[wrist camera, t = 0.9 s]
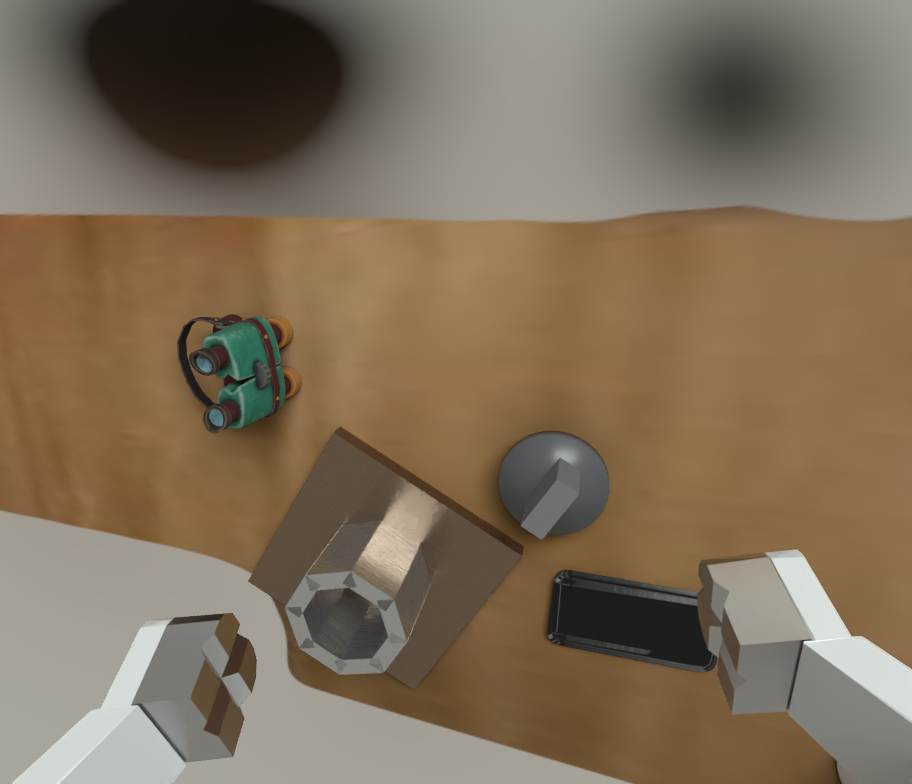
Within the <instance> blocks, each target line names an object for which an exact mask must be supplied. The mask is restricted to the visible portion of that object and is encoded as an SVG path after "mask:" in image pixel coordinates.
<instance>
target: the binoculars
mask: <svg viewBox="0 0 912 784" xmlns="http://www.w3.org/2000/svg"><path fill="white" fill-rule="evenodd" d="M196 321H204V322H208V323H212V324H214V327H213V334H211V335H209V336H208V337H206V338H205V339H204V341H203V348H202V349H200V350H197V351H194V352H192V353H191V354H190V356H189V360H190V363H191V365H192V367H193V368H194V369H195V370H196V371H197V372H199V373H200V374H202V375H206V376H210V375H213V374H215V375H216V376H217V377H218V378H220V379H224V386H225V387H223V388H222V389H221V390H220V391H219V393H218V396H217V404H214V403H213V402H212V401H211V400H210V399H209V398H208V397H207V396H206V395H205V394H204V393H203V391H202V390H201V388H200V386H199V385H198V383H197V381H196V380H195V377H194V375H193V372H192V370H191V367H190V364H189V361H188V357H187V347H186V339H187V336H188V334H189V331H190V329H191V326H192V325H193V324H194V323H195V322H196ZM292 334H293V332H292V328H291V326H290V324H289V323H288V322H287V321H286V320H285V319H283V318H280V317H272V318H269V319H267V320H266V319H264V318H262V317H252V318H247V319H245V318H241V317H240V316H237V315H233V314H231V315H227V316H225V317H223V318H221V319H219V318H211V317H199V318H195V319H192V320H190V321H189V322H188V323H187V324H186V325H184V326H183V328H182V331H181V333H180V336H179V338H178V341H177V347H178V359H179V363H180V366H181V369H182V372H183V375H184V377H185V379H186V382H187V384H188V386H189V387H190V389H191V391H192V392H193V394H194V396H195V397H196V398H197V399H198V400H199V401H200V402H201V403H202V404H203V405H204V406H205V407H206V408H207V409H206V411H205V413H204V416H203V421H204V425H205V427H206V429H207V430H208V431H210V432H211V433H219V432H221V431H223V430H225V429H226V428H230V429H240V428H243V427H245V426H247V425H249V424H251V423H253V422H255V421H257V420H259V419H261V418H263V417H269V416H271V415H273V414H274V413H276V411H277V410H278V409H280V408H281V407H282V406H283V404H284V401H285V398H288V397H290V396H292V395H294V394H295V393H297V392H298V391H299V389H300V387H301V378H300V376H299V374H298V373H297V372H296V371H295V370H293V369H291V368H289V367H282V366H281V365H279V366H277V367H276V365H278V364H279V363H281V359H280V353H279V348H281V347H283V346H285V345H287V344H288V343H289V342H290V341H291V339H292Z"/></svg>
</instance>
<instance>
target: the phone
mask: <svg viewBox="0 0 912 784" xmlns="http://www.w3.org/2000/svg"><path fill="white" fill-rule="evenodd" d="M697 593H698V592H694V591H688V590H682V589H677V588H671V587H665V586H659V585H653V584H647V583H642V582H636V581H630V580H624V579H618V578H612V577H606V576H601V575H595V574H589V573H583V572H577V571H571V570H562V571H560V572H558V573H557V574H556V576H555V580H554V587H553V595H552V603H551V611H550V618H549V626H548V637H549V639H550V640H551V641H552V642H553V643H555V644H558V645H562V646H568V647H573V648H578V649H583V650H589V651H594V652H599V653H604V654H610V655H615V656H620V657H625V658H630V659H636V660H641V661H646V662H651V663H657V664H662V665H667V666H672V667H677V668H683V669H688V670H693V671H698V672H708V671H710V670H712V669H713V668H714V667H715V665H716V662H717V658H718V657H717V656H715V655H714V654H713V653H712V652H710V651H709V650H708V648H707V645H706V642H705V639H704V636H703V633H702V629H701V626H700V622H699V615H698V608H697Z"/></svg>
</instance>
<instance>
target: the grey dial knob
mask: <svg viewBox="0 0 912 784" xmlns="http://www.w3.org/2000/svg"><path fill="white" fill-rule="evenodd" d="M498 484H499V492H500V496H501V499H502V501H503V503H504V505H505V507H506V508H507V510H508V511H509V512H510V514H511V515H512V516H513V517H514V518H515V519H516V520H517V521H519V522H520V523H521V525H520V526H521V527H523V528H524V529H526V530H527V531H529V532H530V533H532V534H533V535H535V536H537V537H538V538H540V539H541V540H542V539H543V538H544V537H545V536H546V534H553V535H560V534H569V533H573V532H576V531H579V530H581V529H583V528H585V527H587V526H588V525H590V524H591V523H592V522H594V521H595V520H596V519H597V518H598V517H599V515H600V514H601V513H602V511H603V509H604V507H605V505H606V503H607V500H608V495H609V477H608V472H607V468H606V465H605V463H604V461H603V459H602V458H601V456H600V455H599V453H598V452H597V451H596V450H595V449H594V448H593V447H592V446H591V445H590V444H589V443H587V442H586V441H584V440H583V439H581V438H579V437H577V436H575V435H572V434H569V433H565V432H559V431H543V432H538V433H534V434H532V435H529V436H527V437H525V438H523V439H521V440H520V441H518V442H517V443H516V444H515V445H514V446H513V447H512V448H511V449H510V450H509V451H508V453H507V455H506V456H505V458H504V460H503V463H502V466H501V469H500V473H499V479H498Z"/></svg>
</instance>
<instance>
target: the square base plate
mask: <svg viewBox="0 0 912 784" xmlns="http://www.w3.org/2000/svg"><path fill="white" fill-rule="evenodd" d="M523 548H524V547H523V546H522V545H520V544H519V543H517V542H516V541H514V540H513V539H511V538H510V537H508V536H506V535H505V534H503V533H502V532H500V531H499V530H497V529H496V528H494V527H493V526H491V525H490V524H488V523H487V522H485V521H484V520H482V519H481V518H479V517H477V516H476V515H474V514H473V513H471V512H470V511H468V510H467V509H465V508H464V507H462V506H461V505H459V504H458V503H456V502H455V501H453V500H452V499H450V498H448V497H447V496H445V495H444V494H442V493H441V492H439V491H438V490H436V489H435V488H433V487H432V486H430V485H429V484H427V483H426V482H424V481H423V480H421V479H419V478H418V477H416V476H415V475H413V474H412V473H410V472H409V471H407V470H406V469H404V468H403V467H401V466H400V465H398V464H397V463H395V462H393V461H392V460H390V459H389V458H387V457H386V456H384V455H383V454H381V453H380V452H378V451H377V450H375V449H374V448H372V447H371V446H369V445H368V444H366V443H364V442H363V441H361V440H360V439H358V438H357V437H355V436H354V435H352V434H351V433H349V432H348V431H346V430H345V429H343V428H342V427H339V428H338V429H337V430H336V431H335V432H334V433H333V435H332V437H331V439H330V440H329V442H328V444H327V445H326V447H325V449H324V451H323V452H322V454H321V456H320V458H319V459H318V461H317V463H316V465H315V466H314V468H313V470H312V471H311V473H310V475H309V477H308V478H307V480H306V482H305V484H304V485H303V487H302V489H301V491H300V492H299V494H298V496H297V497H296V499H295V501H294V503H293V504H292V506H291V508H290V510H289V511H288V513H287V515H286V516H285V518H284V520H283V522H282V523H281V525H280V527H279V529H278V530H277V532H276V534H275V536H274V537H273V539H272V541H271V542H270V544H269V546H268V548H267V549H266V551H265V553H264V555H263V556H262V558H261V560H260V561H259V563H258V565H257V567H256V568H255V570H254V572H253V574H252V575H251V577H250V579H249V582H250V583H251V584H253V585H255V586H256V587H258V588H259V589H261V590H262V591H264V592H265V593H267V594H268V595H270V596H271V597H273V598H274V599H276V600H277V601H279V602H280V603H282V604H284V605H285V610H286V613H287V615H288V618H289V621H290V624H291V626H292V629H293V632H294V635H295V638H296V640H297V643H298V646H299V649H301V650H303V651H304V652H306V653H307V654H309V655H310V656H312V657H313V658H315V659H316V660H318V661H319V662H321V663H322V664H324V665H325V666H327V667H329V668H330V669H332V670H333V671H335V672H336V673H338V674H339V675H345V674H368V673H384V672H385V671H386V672H387V673H389V674H390V675H392V676H393V677H395V678H396V679H398V680H399V681H401V682H402V683H404V684H406V685H407V686H409V687H410V688H412V689H413V690H414V689H415V688H416V686H417V685H418V684H419V683H420V681H421V680H422V679H423V678H424V677H425V675H426V674H427V673H428V672H429V670H430V669H431V668H432V667H433V665H434V664H435V663H436V662H437V660H438V659H439V658H440V657H441V655H442V654H443V653H444V652H445V651H446V649H447V648H448V647H449V646H450V644H451V643H452V642H453V641H454V639H455V638H456V637H457V636H458V634H459V633H460V632H461V631H462V629H463V628H464V627H465V626H466V625H467V623H468V622H469V621H470V620H471V618H472V617H473V616H474V615H475V613H476V612H477V611H478V610H479V608H480V607H481V606H482V605H483V603H484V602H485V601H486V600H487V599H488V597H489V596H490V595H491V594H492V592H493V591H494V590H495V589H496V587H497V586H498V585H499V584H500V582H501V581H502V580H503V579H504V577H505V576H506V575H507V574H508V573H509V571H510V570H511V569H512V568H513V566H514V565H515V564H516V563H517V561H518V560H519V559H520V558H521V556H522V553H523Z"/></svg>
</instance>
